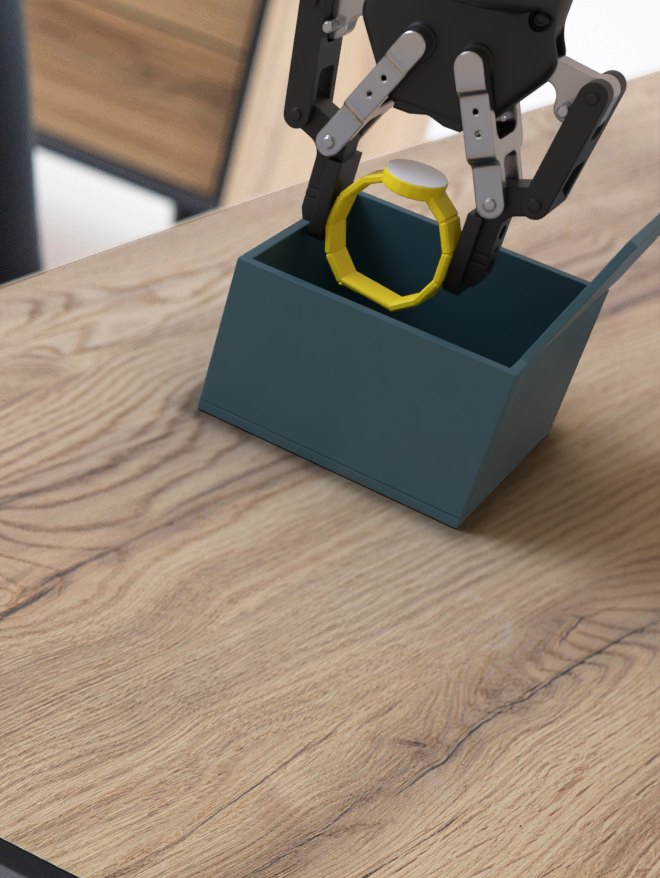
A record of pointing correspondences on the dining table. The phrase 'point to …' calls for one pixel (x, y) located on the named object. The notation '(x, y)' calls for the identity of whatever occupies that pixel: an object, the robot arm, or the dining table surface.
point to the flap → (598, 285)
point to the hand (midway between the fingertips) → (388, 259)
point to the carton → (395, 360)
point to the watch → (411, 184)
